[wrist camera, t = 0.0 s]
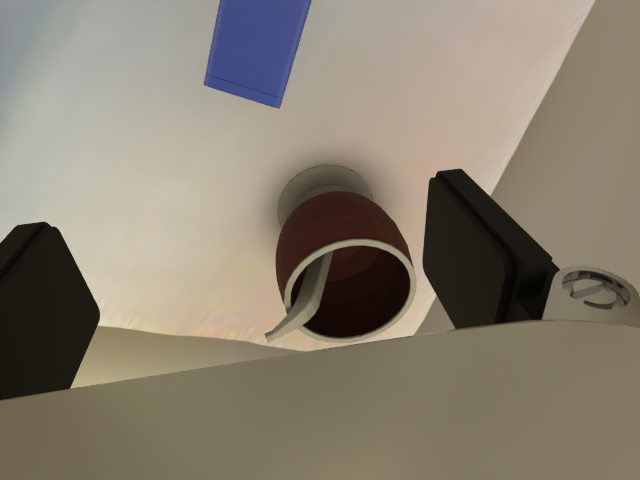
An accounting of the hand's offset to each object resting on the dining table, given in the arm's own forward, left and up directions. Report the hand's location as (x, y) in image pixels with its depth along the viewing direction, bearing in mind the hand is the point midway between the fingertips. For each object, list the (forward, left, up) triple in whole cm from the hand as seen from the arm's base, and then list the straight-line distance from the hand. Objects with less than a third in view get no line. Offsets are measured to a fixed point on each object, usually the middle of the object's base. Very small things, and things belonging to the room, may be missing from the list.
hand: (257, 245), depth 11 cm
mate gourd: (+20, -8, -38) cm, 43 cm away
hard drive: (0, 0, -38) cm, 38 cm away
